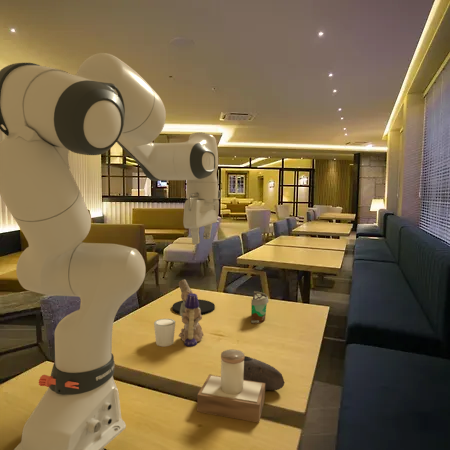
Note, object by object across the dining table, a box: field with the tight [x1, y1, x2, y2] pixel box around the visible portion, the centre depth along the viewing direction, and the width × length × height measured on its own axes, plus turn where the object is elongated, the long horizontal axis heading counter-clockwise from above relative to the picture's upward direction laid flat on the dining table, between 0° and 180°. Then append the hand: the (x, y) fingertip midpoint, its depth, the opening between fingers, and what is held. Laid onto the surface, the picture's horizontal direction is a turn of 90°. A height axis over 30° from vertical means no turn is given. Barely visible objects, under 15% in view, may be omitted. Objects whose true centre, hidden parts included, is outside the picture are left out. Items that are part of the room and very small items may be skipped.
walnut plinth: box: [196, 374, 266, 423], centre depth 81 cm, size 9×14×4 cm, turn 76°
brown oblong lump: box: [244, 355, 285, 391], centre depth 89 cm, size 15×5×7 cm, turn 64°
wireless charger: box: [172, 298, 216, 316], centre depth 148 cm, size 18×18×2 cm
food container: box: [250, 290, 269, 324], centre depth 135 cm, size 12×6×10 cm, turn 171°
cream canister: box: [220, 348, 246, 394], centre depth 80 cm, size 5×5×8 cm
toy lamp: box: [183, 293, 199, 348], centre depth 113 cm, size 5×5×17 cm
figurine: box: [178, 279, 204, 343], centre depth 117 cm, size 9×8×20 cm
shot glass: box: [153, 318, 176, 347], centre depth 114 cm, size 7×7×7 cm
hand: (201, 241), depth 100 cm, fingers open, 8 cm apart
